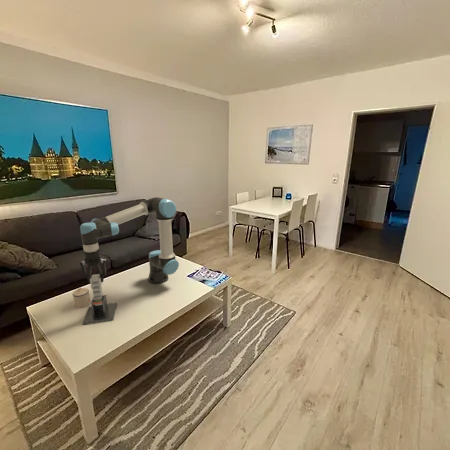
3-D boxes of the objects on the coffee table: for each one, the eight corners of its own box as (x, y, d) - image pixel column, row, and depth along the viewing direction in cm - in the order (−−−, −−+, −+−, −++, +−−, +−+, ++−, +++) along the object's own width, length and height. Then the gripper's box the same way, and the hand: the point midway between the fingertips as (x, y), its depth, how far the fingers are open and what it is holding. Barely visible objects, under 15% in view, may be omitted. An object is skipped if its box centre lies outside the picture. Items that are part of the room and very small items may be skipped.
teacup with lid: (93, 303, 161) (90, 287, 158) (78, 310, 154) (75, 293, 151) (84, 297, 168) (82, 281, 165) (70, 303, 161) (67, 287, 158)
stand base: (89, 308, 155) (86, 293, 152) (116, 304, 160) (114, 290, 157) (82, 325, 140) (80, 308, 138) (113, 320, 145) (111, 304, 142)
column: (96, 301, 149) (92, 274, 144) (103, 300, 150) (99, 273, 146) (94, 306, 145) (90, 278, 140) (102, 305, 146) (98, 277, 141)
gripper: (72, 254, 133) (78, 293, 139) (107, 251, 138) (111, 288, 144) (76, 249, 140) (82, 286, 146) (109, 246, 145) (113, 282, 151)
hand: (96, 287), depth 145 cm, fingers closed on column, 4 cm apart
